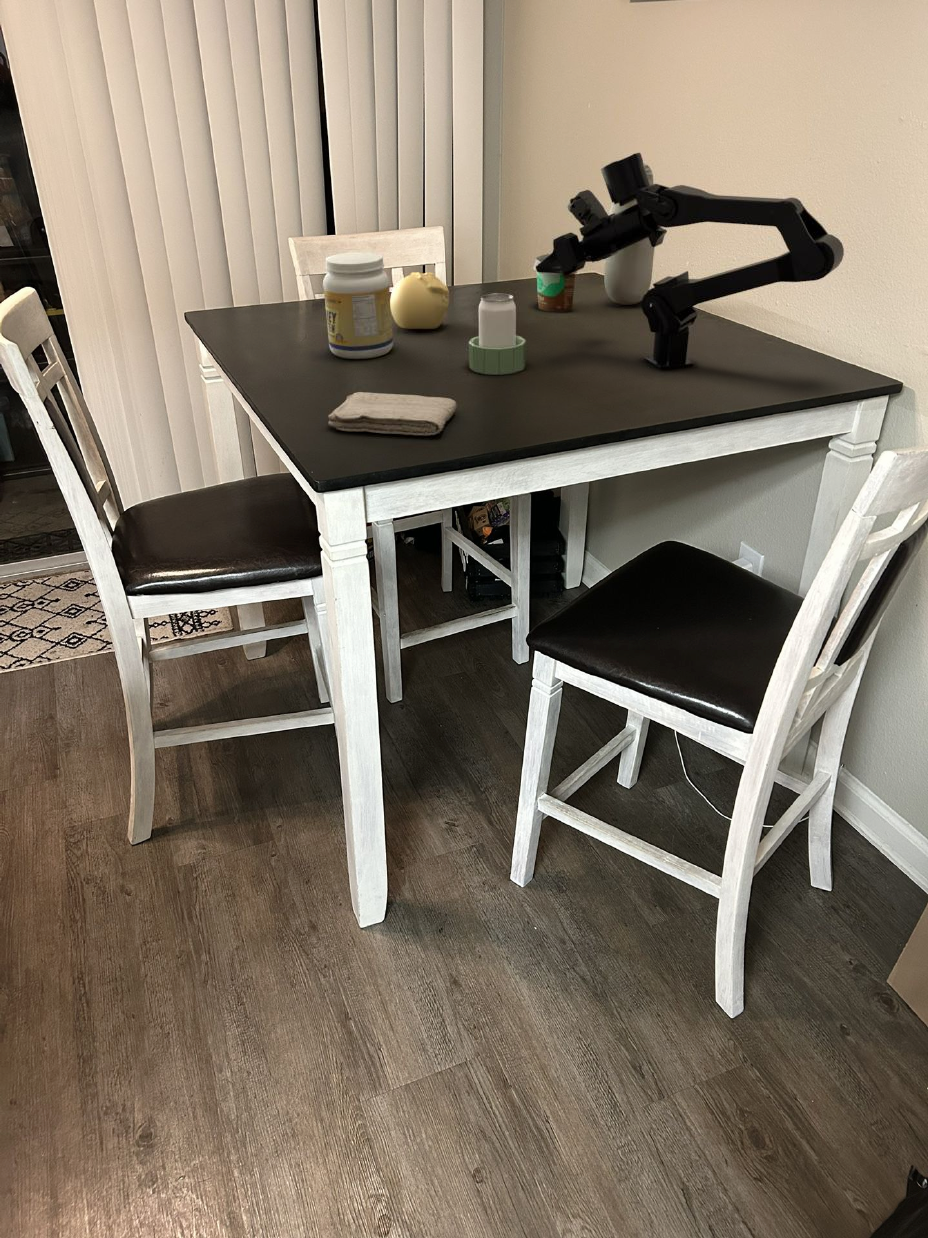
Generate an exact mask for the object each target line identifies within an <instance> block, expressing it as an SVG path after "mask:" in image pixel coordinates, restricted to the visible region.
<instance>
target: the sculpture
mask: <svg viewBox="0 0 928 1238" xmlns="http://www.w3.org/2000/svg"><path fill="white" fill-rule="evenodd" d="M449 304H450V291H449V288H448V286H447V285H446V284H444V283H443V281H442V280H441V279H440V278H438V277H437V276H435V274H434V273H433V272H428V271H427V272H425V273H422V272H420V271H418V272H414V271H412V272H411V273H410V274H409V275H407V276H405V277H403V278H401V279H400V280H399V281H397V283H396V284H395V285H394V287H393V289H392V290H391V293H390V306H391V317H392V318H393V321H395V323H396V325H397V326H398V327H399V328H402V329H407V330H433V329H434V330H435V329H437V328H439V327H440V326H441V324H442V323H443V322H444V320H445V319H446V318H447V311H448V308H449Z"/></svg>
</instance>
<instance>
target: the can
mask: <svg viewBox="0 0 928 1238" xmlns="http://www.w3.org/2000/svg"><path fill="white" fill-rule="evenodd" d="M478 336H479V346H481V347H485V348H506V347H513V346H516V336H517V307H516V303H515V302H514V296H513V295H512V294H510V293H509V294H508V293H499V292H498V293H497V292H496V293H488V294H484V295H481V296H480V302H479V305H478Z"/></svg>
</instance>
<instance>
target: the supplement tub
mask: <svg viewBox="0 0 928 1238" xmlns="http://www.w3.org/2000/svg"><path fill="white" fill-rule="evenodd" d="M384 267H385V263H384V257H383V255H381V254H378V253H374V252H365V251H364V252H361V251H360V252H343V253H337V254H333V255H330V256H327V257H326V258H325V270H326V271H327V273H326V274H325V276H324V277H323V280H322V287H323V295H324V305H325V314H326V315H325V316H326V327H327V335H328V336H327V337H328V346H329V350H330V352H331V353H332V354H334V356H336V357H340V358H342V359H348V360H367V359H373V358H374V359H375V358H378V357H382V356H385V355H386V354H388V353H389V352H391V350H392V348H393V345H394V337H393V323H392V312H391V306H390V299H391V290H390V289H391V287H390V278H389V276H388V274H387V272H385V270H383V268H384Z"/></svg>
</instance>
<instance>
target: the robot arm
mask: <svg viewBox="0 0 928 1238" xmlns="http://www.w3.org/2000/svg"><path fill="white" fill-rule="evenodd" d="M643 163H644V159H643V156H642V154H641V152H636V153H633V154H630V155H629V156H626V157H625V158H622V159H619V160H616V161H612V162H610V163H609V164H607V165H605V166H603V167H602V168H600V172H601V174H602V178H603V180H604V183H605V186H606V189H607V192H608V195H609V198H610V200H611V204H612V203H614V204H618V203H619V205H620V207H621V206H624V205H626V204H628V203H631V202H633V201H635V200H636V201H637V204H635V205H633V206H631V207H629V208H627V209H625V210H623V211H621V212H619V213H617V214H615V213H613V214H611V215H609V214H608V212H607V211H606V209H605V207H604V206H603V204H602V203H601V202H600V201H599V199H598V198H597V197H596V195H595V194H594V193H593V192H592V191H591V190H590V189H586V190H582V191H579V192H578V193H577V194H576V195H575V197H572V198H570V200H569V203H568V204H567V210H568V211H569V213H571V214H572V216H573V217H574V218H575V220H577V221H578V222H579V224H580V225H581V227H579V230H578V231H579V232H580V236H582V238H581V240H580V239H579V236H578V234H575V233H573V232H571V231H570V232H568V233H565V234H562V235H560V236H558V237H556V238H554V239H552V247H553V249H552V251H551V253H548V254H549V255H548V256H547V257H546V258H545V259H544V260H542V261H541V262H540V263H539V264H538V265H537V266H536V270H537V271H536V273H537V272H541V273H558V274H564V275H569V274H571V273H573V272H576V271H577V272H578V271H581V270H582V269H584V268H585V266H586V263H595V262H600V261H602V260H604V261H605V259H606V258H608V257H611V256H613V255H615V254H617V253H618V251H620V250H622V249H624V248H627V247H629V246H631V245H633V244H635V243H637V242H640V241H642V240H644V239H646V238H648V237H649V240H650V243H651V246H652V247H655V248H656V247H659V246H660V245H662V244H663V242H664V239H665V235H666V234H667V232H668V230H667V229H668V228H675V227H684V226H690V225H694V224H701V223H715V224H716V223H718V224H731V225H732V224H733V225H748V226H749V225H750V226H760V227H761V226H762V227H775V228H776V229H777V231H778V232H779V234H780V235H781V238H782V240H783V242H784V244H785V246H786V249H787V250H788V251H786V252H784V253H782V254H780V255H778V256H774V257H770V258H767V259H764V260H760V261H756V262H753V263H750V264H746V265H743V266H740V267H737V268H733V269H729V270H726V271H722V272H719V273H715V274H712V275H709V276H705V277H701V278H690V277H689V275H690V274H689V270H687V271H684V272H682V273H681V274H678V275H675V276H670V275H668V276H666V277H664V278H662V279H660V280H658V281H656V282H654V283H653V284H652V286H653V287H652V288H649V290H648V291H647V292H646V293H645V295H644V297H643V299H642V300H641V310H642V313H643V315H644V316H645V317H646V319H647V323H648V327H649V331H650V332H651V333H654V338H653V349H652V350H653V353H652V356H645V358H644V360H645V361H646V362H648V364H651V365H653V366H655V367H656V368H658V369H659V370H668V369H678V368H684V367H685V368H686V367H691V366H694V362H693V361H692V360H690V359H688V358H687V356H688V347H689V338H690V337H689V336H690V327H689V326H691V325H694V323H695V321H696V318H697V317H698V315H699V313H698V311H697V310H696V309H695V307H694V306H696V305H699V304H702V303H706V302H711V301H715V300H717V299H721V298H725V297H729V296H732V295H736V294H739V293H743V292H747V291H750V290H754V289H757V288H758V289H759V288H762V287H765V286H768V285H773V284H776V283H802V282H813V281H814V282H815V281H818V280H822V279H824V278H825V277H827V276H828V275H829V274H831V273H832V272H833V271H834V270H836V269H837V268H838V267H839V266H840V265H841V263H842V262H843V259H844V255H845V248H844V245H843V242H841V239H839V238H838V237H837V236H836V235H835V236H834V234H830V233H828V231H827V230H826V228H825V227H824V226H823V225H822V223H820V221H818V220H817V219H816V218H815V217H814V216H813V215H812V214H811V213H810V212H809V211H808V210H807V208H806V207H805V206H804V205H803V203H802V201H801V200H800V199H798V198H797V197H793V196H791V197H788V198H777V197H759V196H740V195H739V196H738V195H722V194H721V195H719V194H714V193H710V192H707V191H705V190H703V189H700V188H696V187H692V186H689V185H684V184H678V185H674V186H671V187H669V186H666V185H662V184H659V183H653V185H650V184H649V181H648V178H647V175H646V172H645V169H644V166H643ZM649 185H650V186H649ZM665 228H667V229H665Z"/></svg>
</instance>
